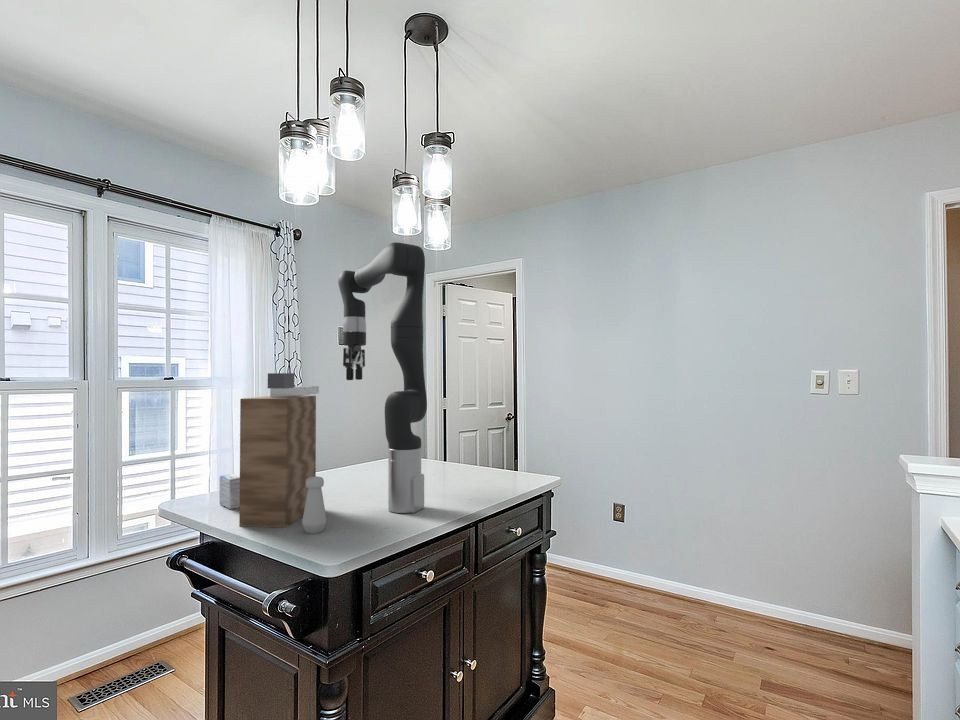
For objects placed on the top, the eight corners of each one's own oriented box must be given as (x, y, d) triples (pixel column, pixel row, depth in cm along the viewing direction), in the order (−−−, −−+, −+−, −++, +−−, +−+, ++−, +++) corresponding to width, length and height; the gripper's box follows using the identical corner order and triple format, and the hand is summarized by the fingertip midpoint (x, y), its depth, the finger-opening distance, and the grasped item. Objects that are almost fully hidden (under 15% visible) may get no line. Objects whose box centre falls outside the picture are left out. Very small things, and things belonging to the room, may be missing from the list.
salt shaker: (312, 536, 120) (312, 480, 120) (296, 532, 123) (296, 478, 123) (331, 529, 125) (332, 476, 125) (316, 526, 128) (316, 474, 128)
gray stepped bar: (307, 393, 159) (307, 373, 159) (321, 393, 158) (321, 373, 158) (267, 397, 135) (267, 373, 135) (283, 397, 134) (283, 373, 135)
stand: (275, 507, 146) (275, 395, 147) (315, 508, 145) (315, 395, 146) (239, 526, 128) (240, 398, 129) (284, 527, 127) (285, 398, 128)
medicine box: (245, 506, 147) (245, 476, 147) (229, 510, 143) (229, 479, 144) (234, 502, 152) (234, 473, 152) (218, 505, 149) (219, 475, 149)
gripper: (351, 333, 177) (351, 379, 177) (335, 329, 163) (335, 380, 162) (372, 332, 176) (372, 379, 176) (358, 329, 162) (358, 380, 162)
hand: (354, 379), depth 169 cm, fingers open, 8 cm apart
